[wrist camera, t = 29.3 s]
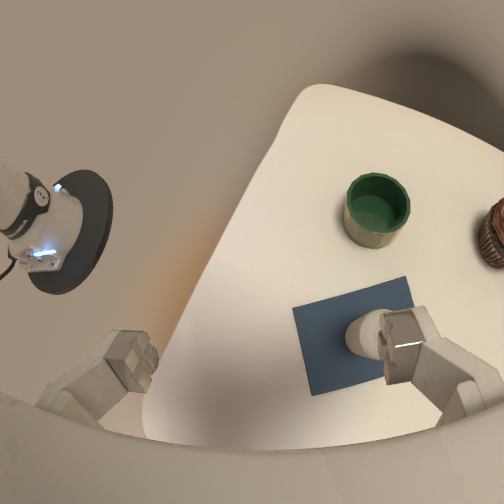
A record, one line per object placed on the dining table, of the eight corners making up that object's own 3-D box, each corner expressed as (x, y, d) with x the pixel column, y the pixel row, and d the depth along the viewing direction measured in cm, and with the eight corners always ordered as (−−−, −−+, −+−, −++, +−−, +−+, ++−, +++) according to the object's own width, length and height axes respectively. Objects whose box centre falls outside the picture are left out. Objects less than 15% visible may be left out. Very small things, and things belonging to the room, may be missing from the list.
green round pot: (353, 255, 39) (359, 241, 33) (335, 201, 41) (337, 180, 36) (407, 240, 38) (420, 224, 32) (386, 188, 40) (395, 167, 35)
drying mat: (312, 395, 34) (312, 396, 34) (292, 308, 38) (292, 308, 38) (425, 360, 32) (426, 360, 32) (404, 276, 36) (405, 275, 36)
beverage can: (347, 316, 36) (361, 305, 25) (382, 320, 35) (410, 310, 24) (341, 352, 35) (353, 358, 24) (377, 356, 34) (403, 362, 23)
